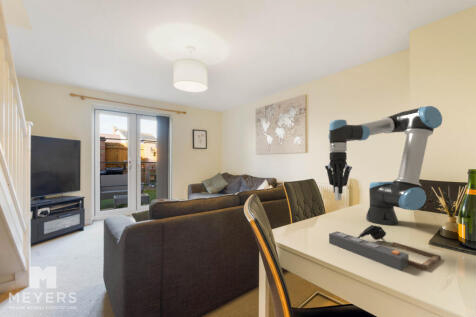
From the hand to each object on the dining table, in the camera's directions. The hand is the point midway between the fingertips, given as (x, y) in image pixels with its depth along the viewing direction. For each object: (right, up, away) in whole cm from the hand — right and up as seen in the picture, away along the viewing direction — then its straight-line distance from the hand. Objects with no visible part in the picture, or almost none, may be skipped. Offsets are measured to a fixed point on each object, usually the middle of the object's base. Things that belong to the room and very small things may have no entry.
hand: (337, 200), depth 101 cm
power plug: (+5, -19, -9) cm, 21 cm away
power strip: (0, -16, -21) cm, 27 cm away
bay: (+14, -16, -24) cm, 32 cm away
